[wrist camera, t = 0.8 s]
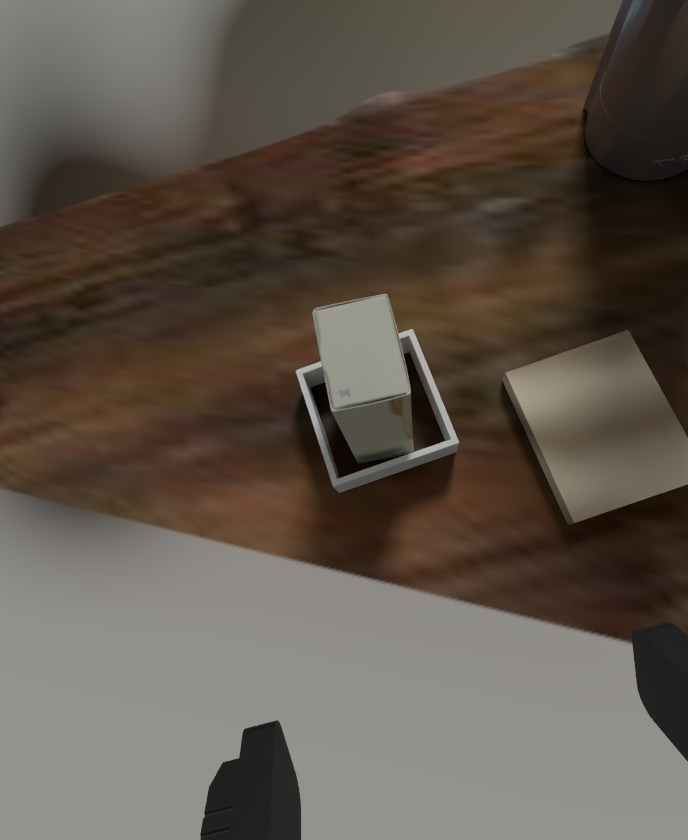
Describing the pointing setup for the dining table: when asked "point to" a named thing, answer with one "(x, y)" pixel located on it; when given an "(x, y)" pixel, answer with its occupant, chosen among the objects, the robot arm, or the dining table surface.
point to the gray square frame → (409, 343)
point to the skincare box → (366, 376)
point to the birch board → (600, 427)
